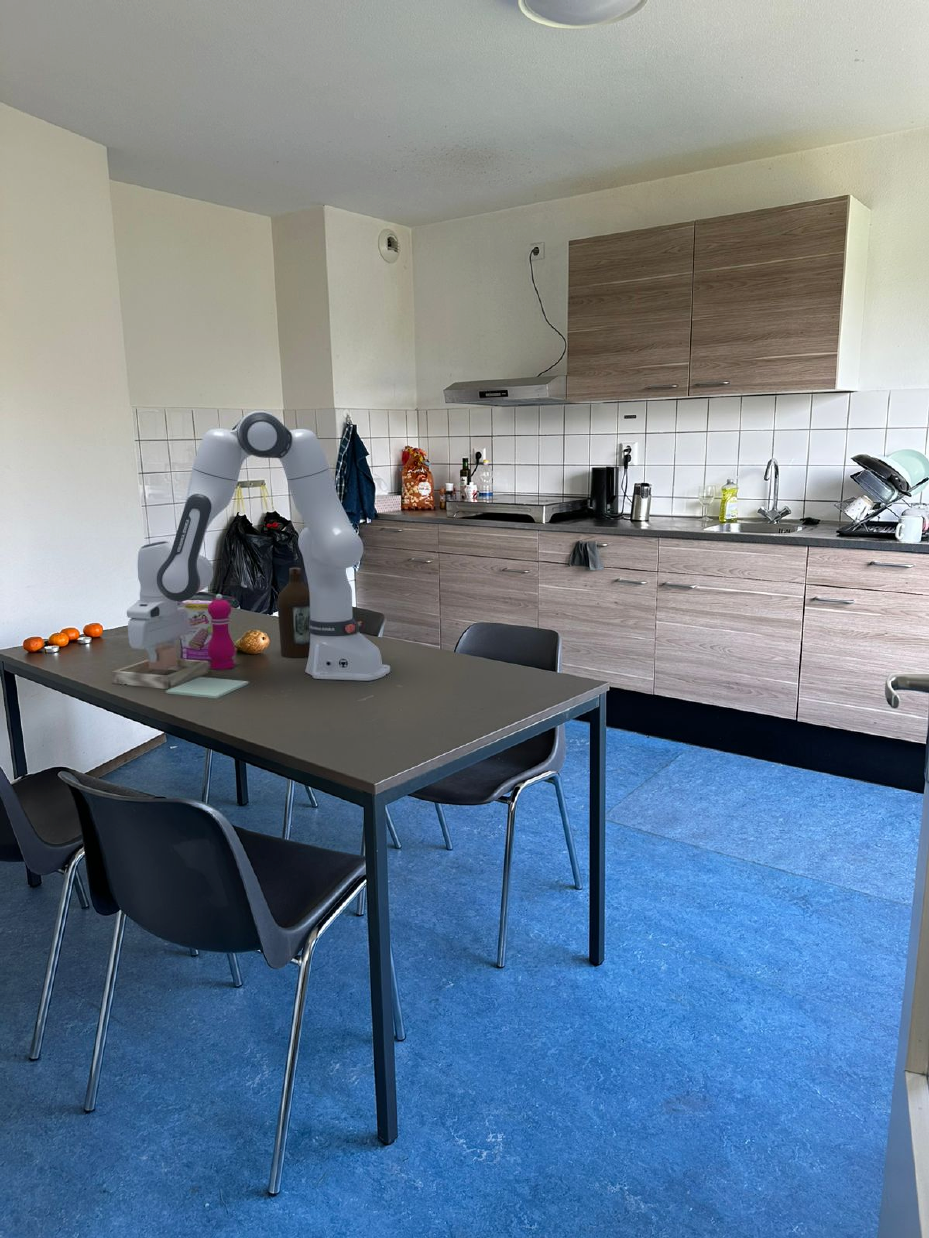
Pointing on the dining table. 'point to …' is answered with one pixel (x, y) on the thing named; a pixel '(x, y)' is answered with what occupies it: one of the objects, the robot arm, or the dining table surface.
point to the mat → (207, 687)
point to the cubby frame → (139, 678)
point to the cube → (164, 658)
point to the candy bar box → (197, 631)
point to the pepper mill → (220, 635)
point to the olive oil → (294, 617)
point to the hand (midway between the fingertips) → (162, 658)
